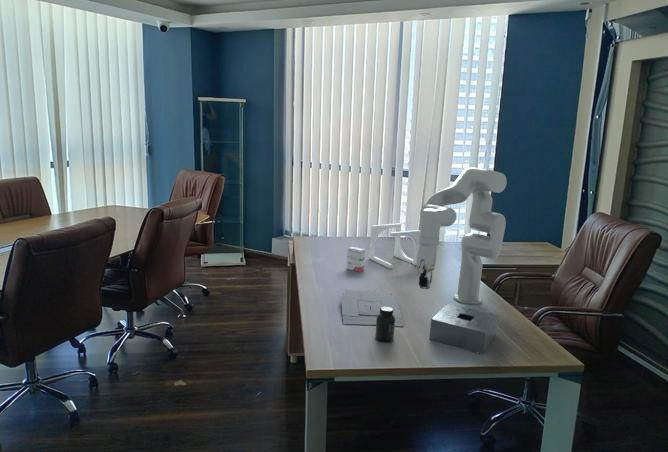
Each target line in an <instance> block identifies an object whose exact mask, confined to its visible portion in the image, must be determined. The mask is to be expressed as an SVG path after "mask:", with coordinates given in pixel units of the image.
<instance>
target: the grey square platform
mask: <svg viewBox="0 0 668 452" xmlns="http://www.w3.org/2000/svg"><path fill="white" fill-rule="evenodd" d="M498 318H499V315H498V314H494V313H490V312H486V311H482V310H478V309H474V308H468V307H465V306H461V305H456V304H452V303H450V302H448V303H447V304H445V305H444V307H442V309H440V310H439V311H438V312H437V313H436V314H434V316H433V317H432V318H431V320H430V328H429V336H428V337H429V340H431V341H433V342H438V343H441V344H445V345H449V346H452V347H455V346H456V348H459V347H460V349H462V348H464V350H466V349H468V350H467V351H469V350H471V351H470V352H473V351H475V352H474V353H476V352H479V353H478V354H480V353H482V354H481V355H484V353H485V352H484V351H487V349H488V347H489V346H488V345H490V344H491V342H492V341H493V339H494V338H495V336H496V335H497V329H498V328H497V326H498V320H499V319H498ZM495 334H496V335H495ZM493 337H494V338H493ZM491 340H492V341H491ZM489 343H490V344H489ZM486 348H487V349H486Z"/></svg>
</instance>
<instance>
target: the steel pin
mask: <svg viewBox="0 0 668 452" xmlns="http://www.w3.org/2000/svg"><path fill="white" fill-rule="evenodd" d="M419 269H420V268H419ZM419 269H418V270H419ZM424 269H425V270H426V268H424ZM434 270H435V265H432V266H431V267H430V269H429V270H427V271H428V273H427V277H428V281H427V287H422V286H419V288H420V289H422V290H430V288H431V284H430V281H431V282H432V279H431V271H432V272H433V271H434ZM424 272H426V271H424Z"/></svg>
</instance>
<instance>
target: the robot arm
mask: <svg viewBox="0 0 668 452" xmlns="http://www.w3.org/2000/svg"><path fill="white" fill-rule="evenodd" d="M507 183H508V182H507V177H506V175H505V174H504V173H502V172H499V171H496V170H492V169H488V168H479V167H478V168H477V167H471V166H470V167H466V168H464V169H463V170H462V171H461V172H460V174H459V175H458V176H457V177H456V179H455V180H454V181H453V183H452V184H451V185H450V186H449V187H447V188H444V189H441V190H440V191H437V192H436V193H434V194H431V195H430V196H429V197H428V198H427V200H426V201H425V202H424V203H423V205H422V207H421V209H420V213H419V215H420V224H419V225H420V227H419V228H420V229H419V230H420V237H419V244H420V246H419V250H418V256H417V264H416V265H415V268H416V269H418V273H419V281H418V285H419V287H420V286H422V287H427V281H428V277H427V273H428V271H427V270H429V269H430V267H431V266H432V265H434V266H435V265H436V262H437V249H438V248H437V247H438V246H439V243H440V241H439V240H440V234H441V233H440V232H441V227H451V226H452V225H454V223H455V222H456V220H457V212H456V211H455V210H454V209H453V208H451V207H447V206H450V205H456V204H462V203H464V202H466V201H467V200H468V199H469V197H470V196H471V195H472V203H471V209H470V213H469V219H468V226H469V228H470V229H471V230H473V231H477V232H481V233H486V234H489V235H490V236H489V235H485V234H479V233H474V232H468V233H465V234H464V235H463V236H462V238H461V241H460V247H461V248H460V249H461V259H460V267H459V269H460V271H459V277H458V289H457V293H454V294H453V299H454V300H455V301H457V302H458V303H461V304H466V305H478V304H481V303H482V302H483V301H482V298H481V296H480V289H481V280H482V273H483V261H482V259H481V257H482V258H487V259H491V260H494V259H497V258H498V257H499V256H500V253H501V250H502V246H503V241H504V235H505V230H506V218H505V216H504V214H501V213H499V212H493V211H492V207H493V206H492V205H493V197H492V195H491V193H492V192H493V193H496V194H497V193H499V194H500V193H502V192H503V191H504V190H505V189H506V187H507ZM419 268H420V269H419ZM424 268H426V270H425V269H424ZM424 271H426V272H424ZM432 277H433V270H432V271H431V281H430V285H431V284H432Z"/></svg>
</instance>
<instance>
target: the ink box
mask: <svg viewBox="0 0 668 452" xmlns="http://www.w3.org/2000/svg"><path fill="white" fill-rule="evenodd" d="M346 254H347V255H346V256H347V257H346V269H347V270H350V271H354V272H355V271H356V272H360V273H361V272H363V271H364V270H365V259H366V258H365V257H366V249H365V248H360V247H357V246H356V247H355V246H350V247H348V248H347V253H346Z"/></svg>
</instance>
